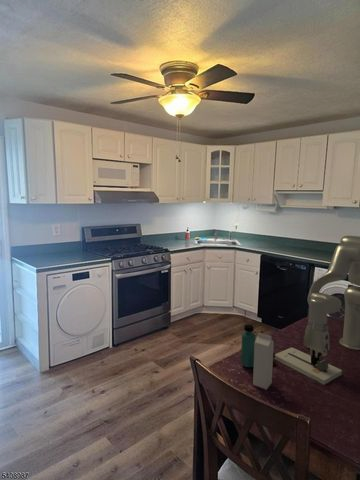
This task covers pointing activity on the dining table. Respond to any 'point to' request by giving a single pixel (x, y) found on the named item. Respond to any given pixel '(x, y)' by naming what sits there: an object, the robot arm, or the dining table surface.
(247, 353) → the beverage bottle
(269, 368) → the milk
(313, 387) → the dining table surface
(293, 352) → the slider board
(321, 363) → the fader
